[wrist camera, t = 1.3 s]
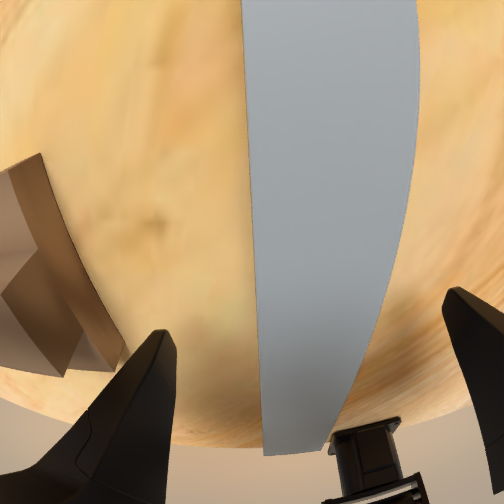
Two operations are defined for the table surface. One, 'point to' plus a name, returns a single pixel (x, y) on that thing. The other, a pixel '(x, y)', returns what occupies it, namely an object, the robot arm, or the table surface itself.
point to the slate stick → (324, 194)
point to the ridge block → (46, 285)
